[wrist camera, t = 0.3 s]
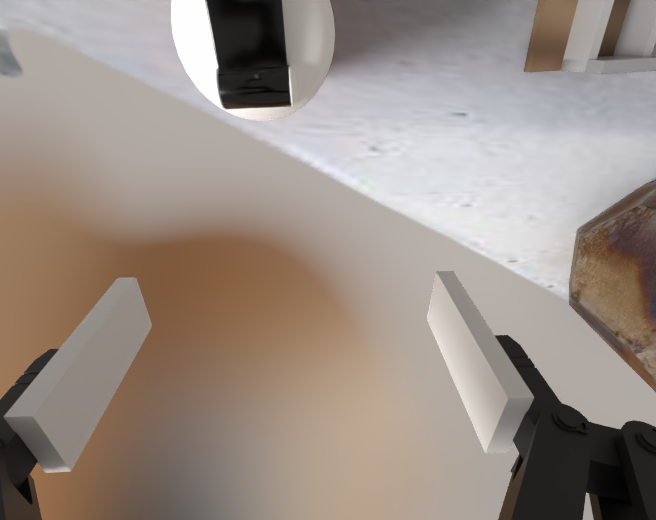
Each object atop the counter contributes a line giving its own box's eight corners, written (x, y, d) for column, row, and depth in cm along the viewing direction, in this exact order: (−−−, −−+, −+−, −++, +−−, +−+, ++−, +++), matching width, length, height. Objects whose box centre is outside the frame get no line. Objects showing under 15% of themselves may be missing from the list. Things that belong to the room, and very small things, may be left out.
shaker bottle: (313, -28, 32) (320, -117, 14) (331, 81, 36) (351, 112, 19) (217, -7, 32) (113, -68, 15) (246, 99, 37) (193, 144, 19)
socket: (579, -4, 32) (628, -13, 27) (641, -8, 32) (701, -18, 27) (560, 70, 35) (601, 74, 31) (616, 66, 36) (666, 70, 31)
